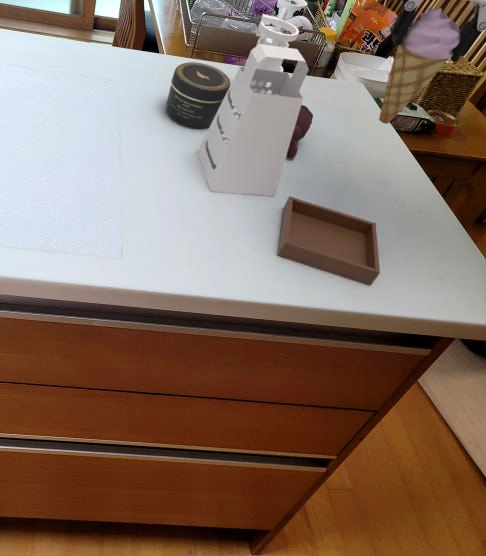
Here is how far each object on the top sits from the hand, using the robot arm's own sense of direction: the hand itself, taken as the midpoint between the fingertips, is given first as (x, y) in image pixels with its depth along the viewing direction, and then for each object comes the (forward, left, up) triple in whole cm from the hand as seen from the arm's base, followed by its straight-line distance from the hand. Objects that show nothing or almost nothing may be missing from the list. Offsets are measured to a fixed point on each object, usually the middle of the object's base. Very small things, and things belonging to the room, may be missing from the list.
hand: (424, 48), depth 69 cm
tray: (+1, +11, -25) cm, 28 cm away
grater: (+16, 0, -26) cm, 30 cm away
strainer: (+16, -28, -26) cm, 41 cm away
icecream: (+9, -16, -26) cm, 32 cm away
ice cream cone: (0, 0, -10) cm, 10 cm away
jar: (+26, -14, -26) cm, 39 cm away
